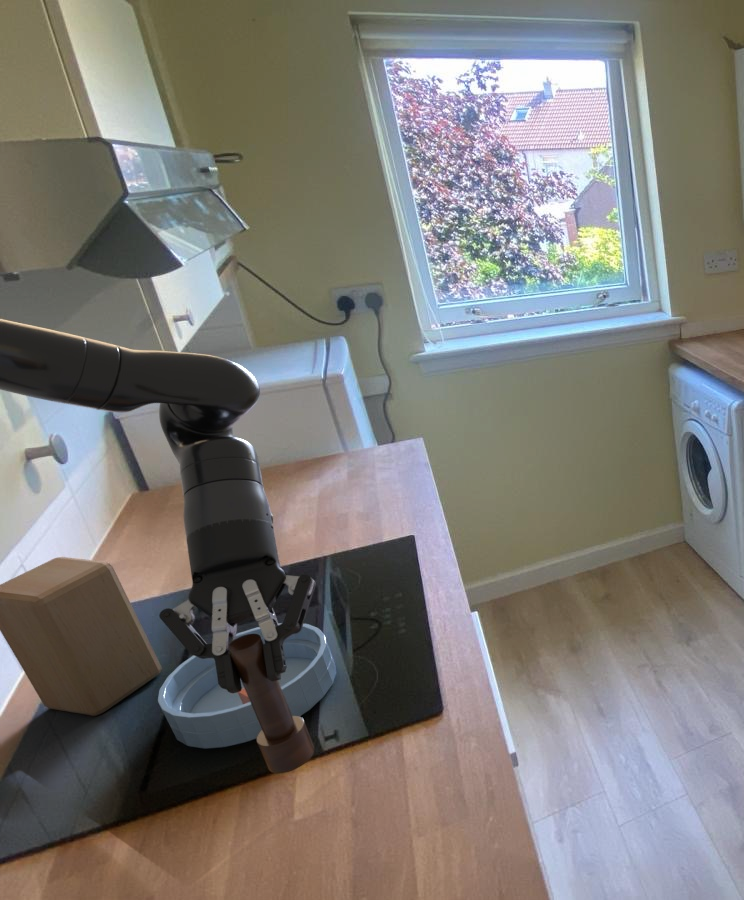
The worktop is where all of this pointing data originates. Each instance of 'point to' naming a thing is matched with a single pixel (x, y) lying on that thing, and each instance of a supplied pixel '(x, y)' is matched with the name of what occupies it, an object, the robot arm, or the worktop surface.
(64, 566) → the wooden block
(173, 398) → the robot arm
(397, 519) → the worktop surface
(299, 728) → the pestle
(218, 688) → the bowl
